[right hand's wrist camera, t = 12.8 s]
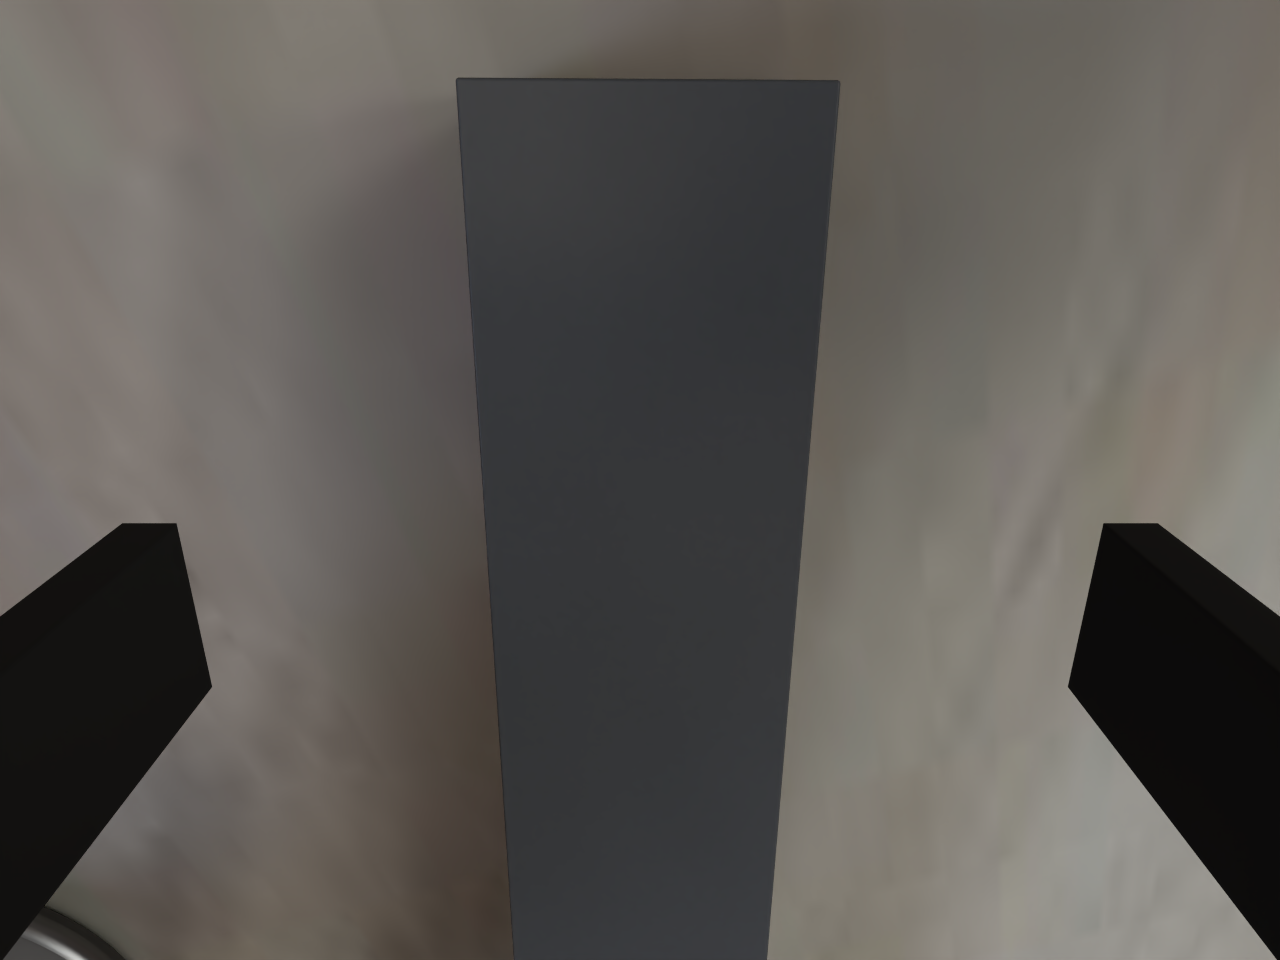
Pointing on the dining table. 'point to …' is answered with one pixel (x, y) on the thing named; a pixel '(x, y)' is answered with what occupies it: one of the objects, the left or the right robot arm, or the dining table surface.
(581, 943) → the wide beam
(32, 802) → the right robot arm
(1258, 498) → the dining table surface
